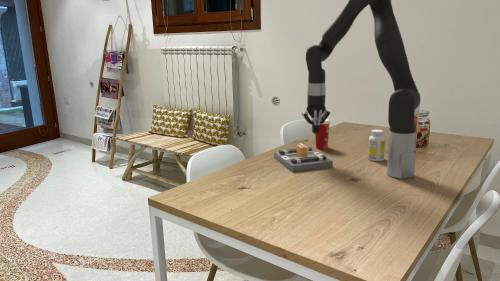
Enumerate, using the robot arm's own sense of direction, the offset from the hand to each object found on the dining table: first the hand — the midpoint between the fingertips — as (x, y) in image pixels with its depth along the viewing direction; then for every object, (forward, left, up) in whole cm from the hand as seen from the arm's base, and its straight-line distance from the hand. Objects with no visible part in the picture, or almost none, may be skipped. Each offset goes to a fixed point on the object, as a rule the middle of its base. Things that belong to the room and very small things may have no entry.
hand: (315, 133), depth 168 cm
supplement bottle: (-9, -25, -12) cm, 29 cm away
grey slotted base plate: (0, +6, -12) cm, 14 cm away
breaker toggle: (0, +6, -10) cm, 12 cm away
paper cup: (+17, -12, -12) cm, 24 cm away
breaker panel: (0, +6, -12) cm, 14 cm away
